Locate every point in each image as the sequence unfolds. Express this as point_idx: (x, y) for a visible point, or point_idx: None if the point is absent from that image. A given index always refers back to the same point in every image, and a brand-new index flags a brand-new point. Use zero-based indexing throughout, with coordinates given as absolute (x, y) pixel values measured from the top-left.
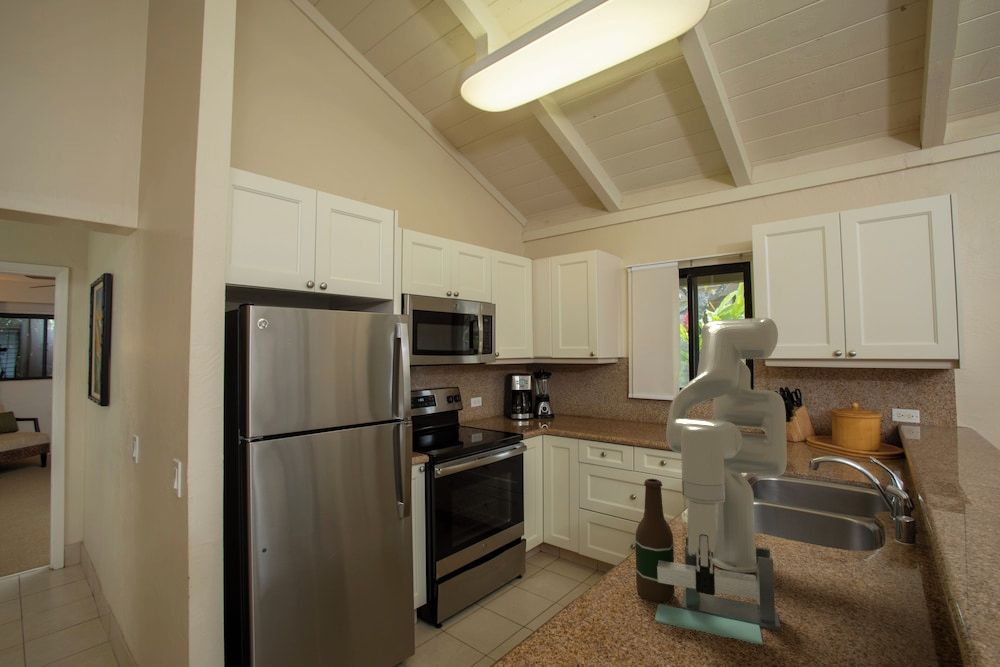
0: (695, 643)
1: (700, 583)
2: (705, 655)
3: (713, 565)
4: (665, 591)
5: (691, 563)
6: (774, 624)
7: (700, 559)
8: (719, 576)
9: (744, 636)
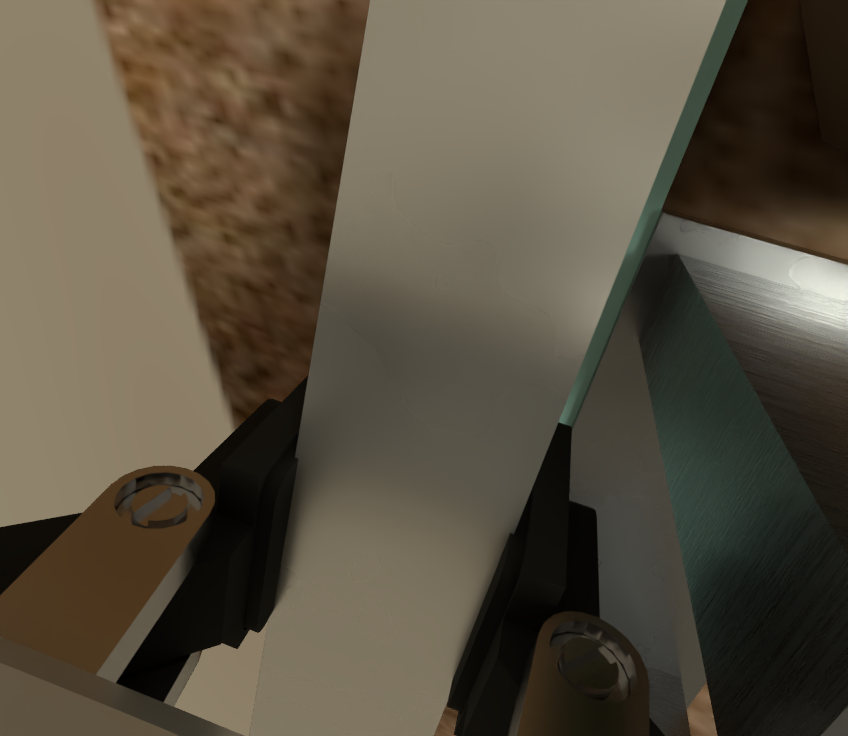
0: (279, 203)
1: (244, 422)
2: (190, 230)
3: (461, 722)
4: (839, 86)
5: (724, 505)
6: None
7: (503, 663)
8: (265, 653)
9: None
